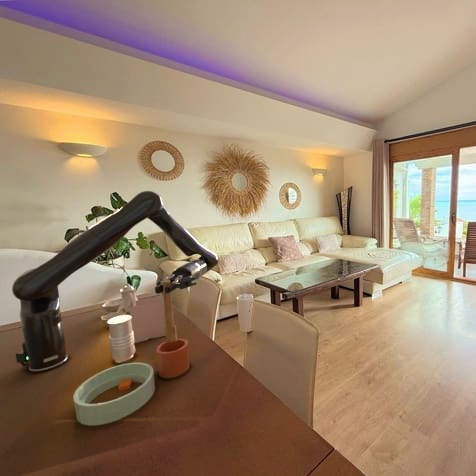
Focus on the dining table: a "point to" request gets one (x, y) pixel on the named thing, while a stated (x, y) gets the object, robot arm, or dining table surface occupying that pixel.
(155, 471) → the dining table surface
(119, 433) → the dining table surface
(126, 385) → the carrot chunk
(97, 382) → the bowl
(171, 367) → the crock
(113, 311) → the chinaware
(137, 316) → the greeting card
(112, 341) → the candle
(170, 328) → the stirring stick
